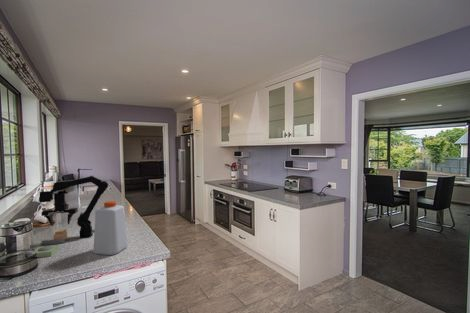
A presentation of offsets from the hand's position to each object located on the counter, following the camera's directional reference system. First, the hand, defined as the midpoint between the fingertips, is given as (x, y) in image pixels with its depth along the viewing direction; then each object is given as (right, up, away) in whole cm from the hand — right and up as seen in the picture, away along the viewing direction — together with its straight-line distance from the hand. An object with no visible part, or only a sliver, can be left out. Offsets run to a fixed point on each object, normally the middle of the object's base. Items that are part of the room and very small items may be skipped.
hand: (60, 224), depth 164 cm
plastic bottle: (+41, -10, -17) cm, 45 cm away
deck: (+3, -10, -16) cm, 19 cm away
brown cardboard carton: (0, -10, 0) cm, 10 cm away
